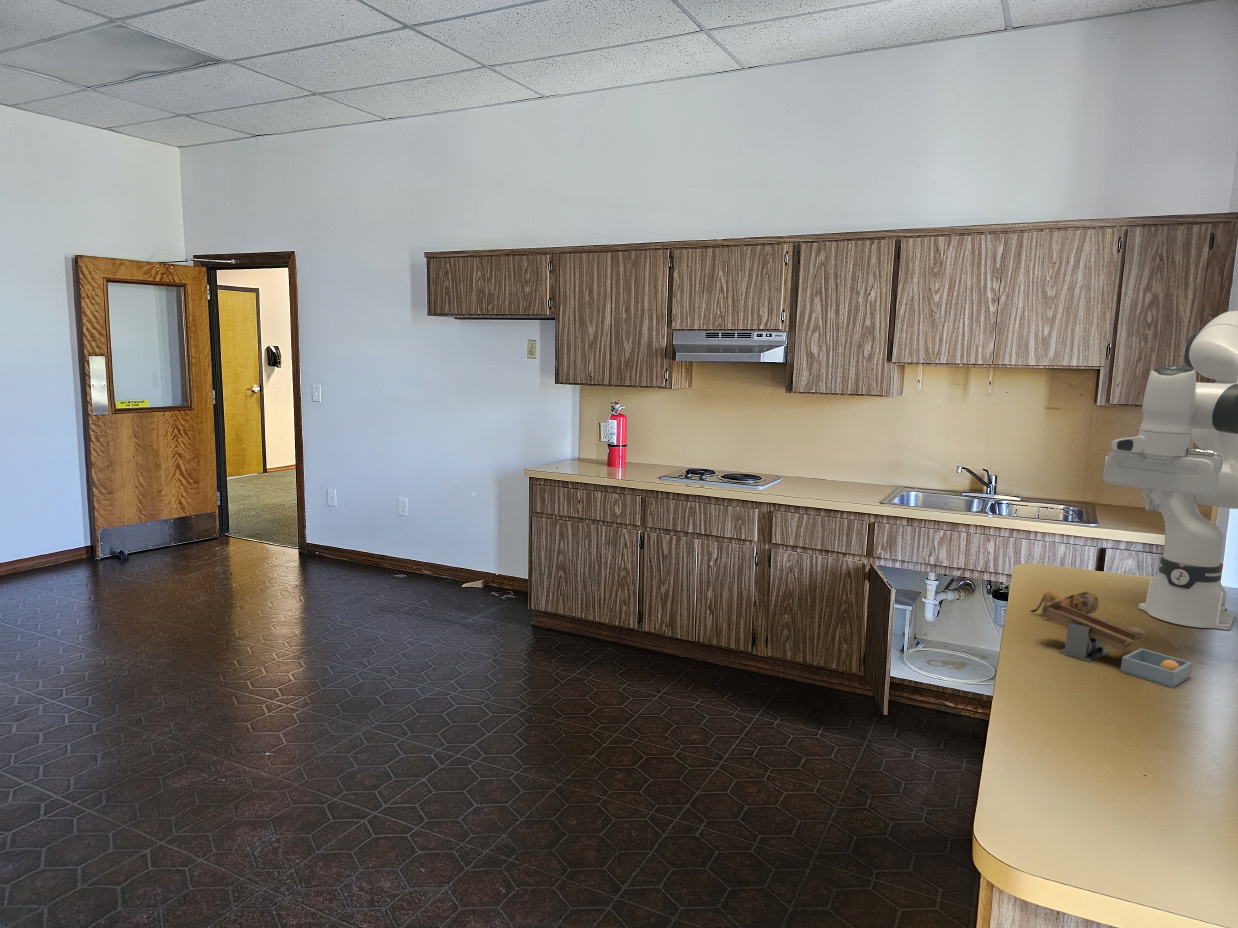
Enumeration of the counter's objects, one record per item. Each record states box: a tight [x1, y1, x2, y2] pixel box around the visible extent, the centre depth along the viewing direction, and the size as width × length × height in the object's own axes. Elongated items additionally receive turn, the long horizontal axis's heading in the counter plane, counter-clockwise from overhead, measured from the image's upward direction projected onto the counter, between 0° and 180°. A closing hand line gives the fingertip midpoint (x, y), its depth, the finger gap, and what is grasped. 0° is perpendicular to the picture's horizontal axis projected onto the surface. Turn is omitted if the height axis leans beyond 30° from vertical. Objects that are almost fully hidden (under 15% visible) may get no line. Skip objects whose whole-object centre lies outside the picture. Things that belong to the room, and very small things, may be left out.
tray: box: [1119, 647, 1193, 689], centre depth 157 cm, size 9×9×3 cm
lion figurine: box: [1030, 590, 1100, 622], centre depth 186 cm, size 15×5×9 cm, turn 36°
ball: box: [1160, 660, 1180, 671], centre depth 155 cm, size 3×3×3 cm
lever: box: [1041, 599, 1147, 651], centre depth 169 cm, size 13×16×3 cm
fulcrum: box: [1058, 616, 1110, 663], centre depth 167 cm, size 9×6×7 cm, turn 127°
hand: (1154, 511), depth 167 cm, fingers closed
